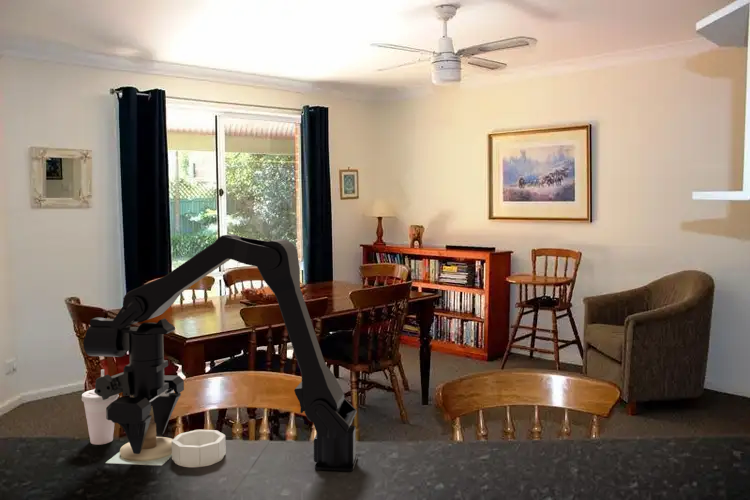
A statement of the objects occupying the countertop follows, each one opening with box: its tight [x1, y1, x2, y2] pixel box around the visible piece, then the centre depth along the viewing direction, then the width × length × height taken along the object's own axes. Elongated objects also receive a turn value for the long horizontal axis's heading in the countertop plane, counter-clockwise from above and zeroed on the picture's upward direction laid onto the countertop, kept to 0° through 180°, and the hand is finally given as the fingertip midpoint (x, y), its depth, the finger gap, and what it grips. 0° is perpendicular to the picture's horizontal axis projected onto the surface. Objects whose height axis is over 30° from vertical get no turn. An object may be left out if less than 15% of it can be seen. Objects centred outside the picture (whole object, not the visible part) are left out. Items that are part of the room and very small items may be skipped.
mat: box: [105, 451, 172, 467], centre depth 117 cm, size 10×12×1 cm
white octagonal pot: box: [171, 429, 227, 468], centre depth 114 cm, size 8×8×4 cm
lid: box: [119, 421, 174, 461], centre depth 117 cm, size 10×10×5 cm
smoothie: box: [81, 369, 120, 446], centre depth 121 cm, size 6×6×14 cm
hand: (148, 443), depth 117 cm, fingers open, 9 cm apart
